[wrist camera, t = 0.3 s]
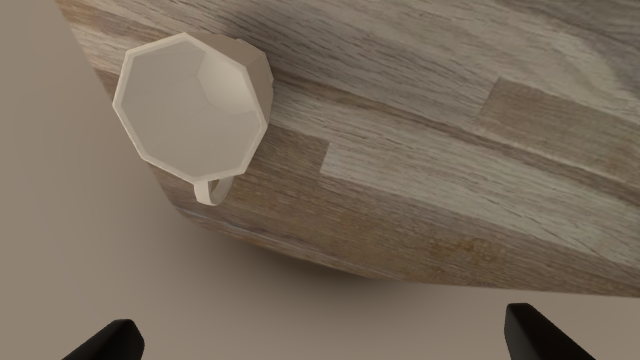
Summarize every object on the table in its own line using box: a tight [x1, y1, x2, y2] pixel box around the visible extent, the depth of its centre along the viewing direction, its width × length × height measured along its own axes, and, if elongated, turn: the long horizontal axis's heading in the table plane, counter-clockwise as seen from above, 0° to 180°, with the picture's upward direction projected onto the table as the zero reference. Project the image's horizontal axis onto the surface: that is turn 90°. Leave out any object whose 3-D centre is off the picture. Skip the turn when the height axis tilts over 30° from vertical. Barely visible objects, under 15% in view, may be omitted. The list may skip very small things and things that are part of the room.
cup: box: [112, 32, 274, 206], centre depth 20 cm, size 7×10×8 cm
